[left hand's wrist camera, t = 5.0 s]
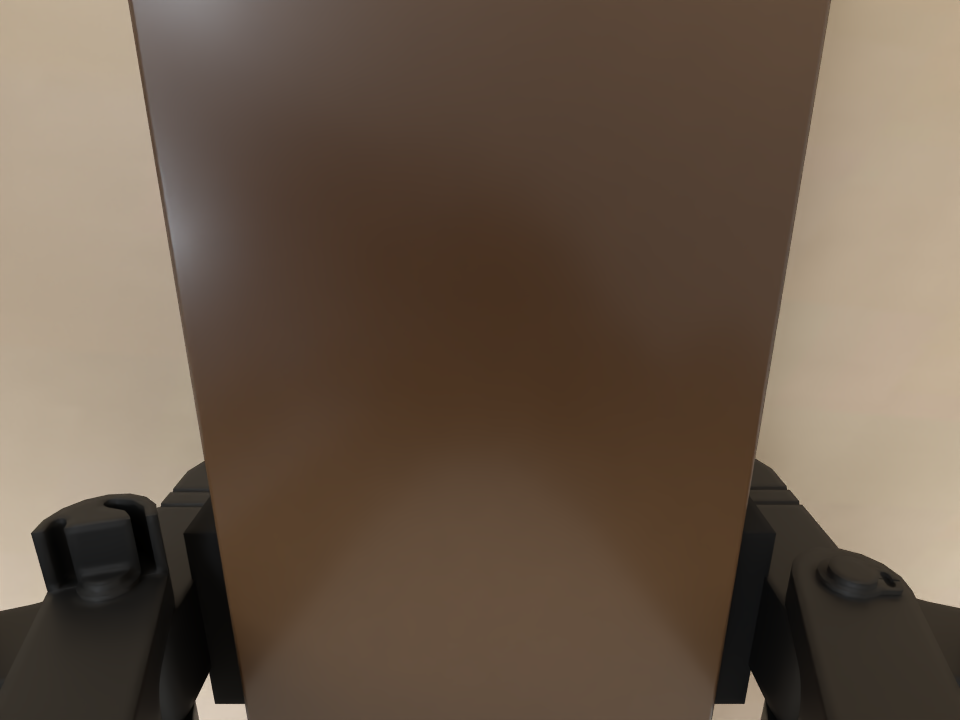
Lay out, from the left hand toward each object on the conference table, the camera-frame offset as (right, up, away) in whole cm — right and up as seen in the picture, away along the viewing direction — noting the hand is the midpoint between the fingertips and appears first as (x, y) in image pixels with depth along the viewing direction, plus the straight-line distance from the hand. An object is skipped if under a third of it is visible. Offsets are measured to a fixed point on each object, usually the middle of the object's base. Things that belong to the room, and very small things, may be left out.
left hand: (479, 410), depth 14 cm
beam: (0, +33, -11) cm, 35 cm away
